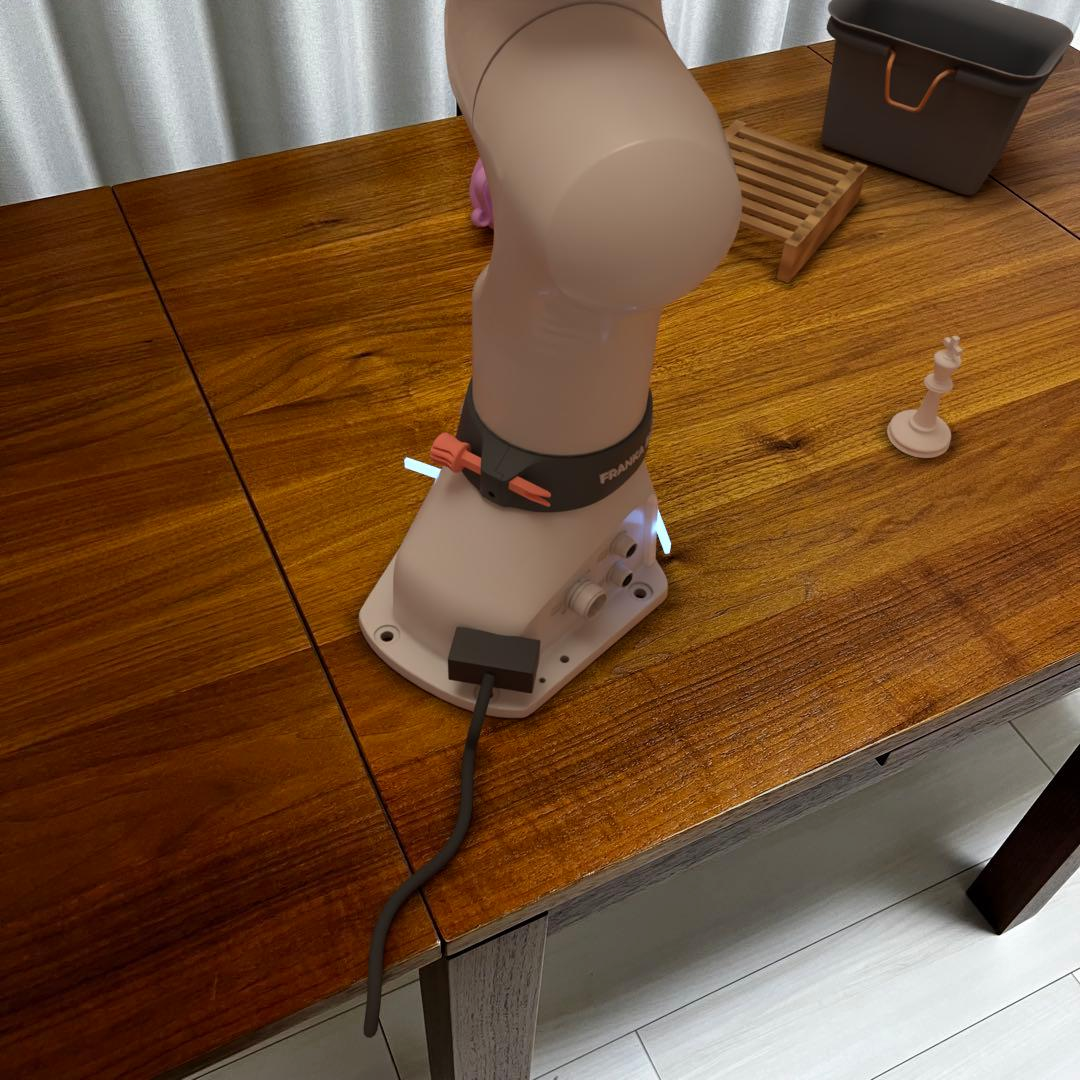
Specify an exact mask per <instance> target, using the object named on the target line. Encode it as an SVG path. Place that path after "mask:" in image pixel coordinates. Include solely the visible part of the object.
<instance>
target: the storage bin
mask: <svg viewBox="0 0 1080 1080" xmlns="http://www.w3.org/2000/svg"><path fill="white" fill-rule="evenodd" d="M827 10H828V13H829V15H830V16H829V18H828V20H827V23H826V31H827V33H828V35H829V36H830V37H831V38H833V39H834V40H835V41H834V42H835V43H834V49H833V55H832V62H831V63H832V64H831V70H830V77H829V82H828V83H829V84H828V90H827V97H826V102H825V110H824V116H823V122H822V130H821V136H820V141H821V143H822V144H823V145H824V146H826V147H827V148H830V149H833V150H836V151H838V152H841V153H844V154H847V155H850V156H853V157H855V158H858V159H862V160H864V161H867V162H871V163H874V164H876V165H879V166H881V167H884V168H888V169H890V170H893V171H896V172H899V173H902V174H905V175H908V176H911V177H913V178H916V179H917V180H921V181H924V182H926V183H930V184H932V185H935V186H937V187H941V188H943V189H946V190H949V191H951V192H954V193H957V194H960V195H964V196H971V195H975V194H976V193H977V192H978V191H979V190H980V188H981V187H982V185H983V184H984V182H985V181H986V179H987V178H988V176H989V175H990V173H991V172H992V171H993V170H994V168H995V167H996V166H997V164H998V163H999V161H1000V159H1001V157H1002V155H1003V153H1004V151H1005V150H1006V147H1007V145H1008V143H1009V141H1010V140H1011V137H1012V135H1013V133H1014V131H1015V129H1016V127H1017V125H1018V123H1019V120H1020V119H1021V117H1022V115H1023V113H1024V110H1025V109H1026V106H1027V104H1028V103H1029V101H1030V99H1031V97H1032V96H1033V95H1034V94H1036V93H1038V92H1039V91H1040V90H1041V89H1042V87H1043V86H1044V84H1045V83H1046V82H1047V80H1048V79H1049V78H1050V76H1051V75H1052V74H1053V72H1054V71H1055V70H1056V68H1057V67H1058V66H1059V65H1060V63H1061V62H1062V60H1063V58H1064V55H1065V52H1066V51H1067V49H1068V48H1069V47H1070V45H1071V44H1072V42H1073V40H1074V38H1075V37H1074V32H1073V31H1072V29H1070V27H1068V26H1067V25H1066V24H1064V23H1062V22H1060V21H1057V20H1055V19H1052V18H1049V17H1047V16H1043V15H1040V14H1037V13H1033V12H1031V11H1028V10H1024V9H1021V8H1019V7H1018V8H1017V7H1014V6H1011V5H1008V4H1004V3H1001V2H998V1H995V0H830V1H829V3H828V5H827Z"/></svg>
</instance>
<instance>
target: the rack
mask: <svg viewBox="0 0 1080 1080" xmlns="http://www.w3.org/2000/svg"><path fill="white" fill-rule="evenodd" d="M724 133H725V136H726V139H727V142H728V145H729V148H730V151H731V154H732V158H733V162H734V165H735V169H736V173H737V177H738V181H739V185H740V189H741V195H742V213H741V220H740V224H739V227H741V228H744V229H747V230H750V231H753V232H755V233H758V234H760V235H763V236H766V237H768V238H771V239H772V240H775V241H779V242H781V243H784V244H783V249H782V253H781V256H780V262H779V266H778V271H777V275H776V280H778V281H781V282H783V283H786V284H789V283H790V282H791V281H792V280H793V279H794V278H795V276H796V275H797V274H798V273H799V271H800V270H802V268H803V267H804V266H805V265H806V264H807V262H808V261H809V260H810V259H811V257H813V256H814V254H816V252H817V251H818V249H819V248H820V247H821V246H822V245H823V243H824V242H825V241H826V240H827V239H828V238H829V237H830V236H831V235H832V233H833V232H835V231H834V230H836V228H837V227H839V225H840V224H841V223H842V221H843V220H844V219H845V218H846V217H847V216H848V214H849V213H850V212H851V211H852V210H853V209H854V208H855V206H856V205H857V204H858V203H859V201H860V196H861V193H862V189H863V186H864V182H865V178H866V176H867V175H866V174H867V171H868V167H869V165H867V164H865V163H861V162H858V161H857V162H855V163H854V164H853V163H850V162H848V161H845V160H842V159H839V158H837V157H834V156H830V155H829V154H825V153H823V152H819V151H817V150H815V149H814V150H813V149H811V148H808V147H804V146H803V145H799V144H796V143H793V142H790V141H788V140H784V139H782V138H780V137H777V136H774V135H771V134H768V133H765V132H761V131H759V130H756V129H754V128H751V127H748V123H747V122H744V121H742V120H739V119H735V120H734V121H733V122H732V123H731V124H730V125H729V126H728V127H727V128H726V129H724ZM786 228H787V229H786Z"/></svg>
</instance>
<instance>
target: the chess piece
mask: <svg viewBox="0 0 1080 1080" xmlns="http://www.w3.org/2000/svg"><path fill="white" fill-rule="evenodd" d="M960 340H961V338H960V337H959V336H958V335H957V334H956V335H953V336H951V337H949V336H948V337H944V338H943V340H942V342H941V343H942V344H943V345H944V346H945V347H946V349H942V350H937V351H936V352H935V354H934V355H933V372H931V373H929V374H927V375H926V376H925V377H924V380H923V384H924V386H925V388H926V389H928V390H927V392H926V394H925V396H924V398H923V400H922V402H920V403H921V404H920V405H919V407H918V408H917V409H906V410H902V411H900V412H897V413H896V414H895V415H893V417H892V419H891V420H890V421H889V423H888V424H887V428H886V434H887V437H888V440H889V441H890V443H891V444H892V445H893V446H894V447H895V448H896V449H897V450H899V451H900V452H902V453H904V454H906V455H909V456H911V457H914V458H918V459H919V458H920V459H932V458H936V457H939V456H941V455H944V453H946V452H947V451H948V450H949V447H950V446H951V441H952V432H951V429H950V427H949V425H948V424H947V423H946V422H945V421H944V419H942V418H941V417H940V416H938V412H939V408H940V403H941V399H942V395H943V394H947V393H949V392H951V391H952V390H953V389H954V388H953V387H954V385H953V384H954V381H953V380H952V379H951V378H950V377H952V376H953V374H954V373H955V372H956V371H957V370H958V369H959V368H960V367H961V366H962V358H961V356H962V355H963V352H964V350H963V349H962V348H961V347H960V346H959V343H960Z"/></svg>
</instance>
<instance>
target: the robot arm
mask: <svg viewBox="0 0 1080 1080" xmlns="http://www.w3.org/2000/svg"><path fill="white" fill-rule="evenodd" d="M443 15H444V16H443V33H444V35H443V36H444V50H445V51H444V52H445V62H446V69H447V77H448V80H449V85H450V88H451V91H452V93H453V96H454V98H455V101H456V103H457V106H458V107H459V111H460V112H461V114H462V116H463V119H464V122H465V123H466V126H467V128H468V130H469V133H470V135H471V137H472V139H473V142H474V145H475V147H476V150H477V154H478V155H479V157H480V158H481V161H482V164H483V168H484V172H485V175H486V179H487V183H488V187H489V191H490V196H491V201H492V207H493V216H494V230H493V243H492V244H493V246H492V250H491V255H490V259H489V263H488V264H486V266H485V267H484V268H483V269H482V271H481V272H480V273H479V275H478V277H476V280H475V283H474V285H473V289H472V292H471V369H472V370H471V371H472V375H471V377H470V380H469V381H468V385H467V389H466V392H465V396H464V397H463V402H461V406H460V410H459V414H458V415H459V416H460V417H459V421H458V424H457V428H456V429H457V430H456V433H455V436H453V435H452V434H450V433H448V432H441V433H440V434H439V435H438V436H437V437H436V438H435V439H434V441H433V443H432V446H431V448H430V451H429V458H430V461H431V462H433V463H434V464H436V465H439V466H442V467H440V468H438V467H435V466H433V465H431V464H427V463H424V462H421V461H418V460H415V459H413V458H410V457H405V458H404V468H405V469H408V470H411V471H414V472H417V473H419V474H423V475H425V476H428V477H431V478H434V481H433V483H432V485H431V487H430V489H429V491H428V492H427V494H426V496H425V499H424V500H423V502H422V504H421V506H420V508H419V510H418V512H417V513H416V515H415V517H414V519H413V521H412V523H411V525H410V527H409V529H408V531H407V532H406V535H405V536H404V539H403V541H402V542H401V544H400V546H399V548H397V549H398V550H397V551H396V553H395V554H394V556H393V557H392V558H391V560H390V562H389V563H388V564H387V567H386V569H385V570H384V572H383V573H382V574H381V576H380V578H379V579H378V581H377V582H376V584H375V585H374V587H373V589H372V590H371V592H370V593H369V595H368V596H367V598H366V599H365V602H364V603H363V605H362V606H361V608H360V610H359V613H358V626H359V628H360V631H361V633H362V635H363V638H364V639H365V640H366V642H367V644H368V645H369V647H370V648H371V649H372V650H373V652H374V653H375V654H376V655H377V656H378V657H379V658H380V659H381V660H382V661H383V662H384V663H385V664H387V666H389V667H390V668H391V669H393V670H394V671H395V672H396V673H398V674H399V675H400V676H402V677H403V678H405V679H406V680H408V681H409V682H411V683H413V684H414V685H415V686H417V687H419V688H420V689H422V690H424V691H425V692H427V693H430V694H432V695H433V696H434V697H437V698H438V699H441V700H442V701H445V702H447V703H449V704H451V705H454V706H456V707H459V708H462V709H464V710H467V711H470V712H472V716H471V720H470V723H469V727H468V731H467V733H466V734H467V735H466V738H465V744H464V750H463V755H462V761H461V775H460V803H459V811H458V815H457V820H456V823H455V826H454V828H453V830H452V833H451V835H450V837H449V838H448V840H447V842H446V843H445V845H444V846H443V847H442V849H441V850H439V852H438V853H437V854H436V855H435V856H434V857H433V858H431V859H430V860H429V861H428V862H427V863H426V864H424V865H423V866H421V867H420V868H419V869H418V870H416V871H415V872H414V873H413V874H412V875H411V876H409V877H408V878H407V879H406V880H405V881H404V882H402V884H400V885H399V887H398V888H396V890H395V891H394V892H393V893H392V895H391V896H390V897H389V899H387V901H386V903H385V905H384V906H383V908H382V910H381V912H380V914H379V916H378V919H377V921H376V924H375V927H374V930H373V933H372V936H371V940H370V946H369V953H368V968H367V990H366V992H367V993H366V1005H365V1013H364V1019H363V1020H364V1022H363V1028H362V1029H363V1036H365V1038H366V1039H367V1038H368V1039H372V1038H373V1037H375V1036H376V1034H377V1032H378V1030H379V1022H380V1013H381V1004H382V989H383V960H384V949H385V944H386V939H387V933H388V932H389V928H390V925H391V923H392V920H393V918H394V916H395V915H396V914H397V911H398V910H399V908H400V907H401V905H402V904H403V903H404V902H405V901H406V900H407V898H408V897H409V896H411V894H412V893H414V892H415V891H416V890H417V889H418V888H419V887H421V886H422V885H423V884H424V883H426V882H427V881H428V880H429V879H430V878H432V877H434V875H435V874H436V873H438V872H439V871H440V870H441V869H442V868H443V867H444V866H446V865H447V863H448V862H449V861H450V860H451V859H452V858H453V856H455V854H456V853H457V851H458V850H459V848H460V846H461V844H462V843H463V841H464V839H465V836H466V833H467V831H468V828H469V825H470V823H471V818H472V813H473V806H474V805H473V804H474V775H475V774H474V773H475V762H476V756H477V750H478V744H479V741H480V737H481V734H482V730H483V727H484V726H483V725H484V722H485V717H486V716H487V717H488V716H489V717H495V718H501V719H502V718H503V719H505V718H506V719H523V718H526V717H529V716H530V715H531V714H533V713H534V712H535V711H537V710H538V709H539V708H540V707H542V706H543V705H544V704H546V702H548V701H549V700H550V699H551V698H552V697H554V695H556V694H557V693H558V692H559V691H560V690H562V689H563V688H564V687H565V686H566V685H568V684H569V683H570V682H571V681H572V680H573V679H575V678H576V677H577V676H578V675H580V673H581V672H583V671H584V670H585V669H586V668H587V667H589V666H590V665H591V664H592V663H593V662H595V661H596V660H597V659H598V658H599V657H600V656H601V655H603V654H604V653H605V652H606V651H607V650H609V649H610V648H611V647H612V646H613V645H614V644H616V643H617V642H618V641H619V640H620V639H621V638H623V637H624V636H625V635H626V634H627V633H629V632H630V630H632V629H633V628H634V627H635V626H637V625H638V624H639V623H640V622H642V620H644V619H645V618H646V617H648V615H649V614H651V613H652V612H653V611H654V610H655V609H656V608H658V607H659V606H660V605H661V604H662V603H664V601H665V600H667V597H668V594H669V584H668V582H669V581H668V578H667V576H666V574H665V572H664V570H663V569H662V566H661V565H660V564H659V562H658V560H657V558H656V556H657V555H656V553H657V541H658V540H657V539H658V538H659V541H660V544H661V546H662V549H663V552H664V554H666V555H667V554H670V551H671V545H672V543H671V540H670V537H669V535H668V531H667V529H666V526H665V523H664V521H663V518H662V516H661V513H660V511H659V499H658V495H657V493H656V490H655V487H654V484H653V482H652V479H651V476H650V473H649V469H648V466H647V462H646V456H647V453H648V449H649V445H650V441H651V436H652V433H653V427H654V399H653V398H654V397H653V392H652V390H651V387H650V385H651V379H652V371H653V366H654V359H655V352H656V345H657V341H658V340H657V339H658V333H659V328H660V327H659V326H660V323H661V318H662V314H663V311H664V309H665V307H666V306H668V305H670V304H672V303H675V302H676V301H678V300H680V299H682V298H683V297H685V296H687V295H688V294H690V293H691V292H692V291H694V290H695V289H696V288H698V287H700V286H701V285H702V284H703V283H704V282H705V281H706V280H707V279H708V278H709V277H710V276H711V275H712V274H713V273H714V272H715V270H717V268H718V267H719V266H720V265H721V263H722V262H723V260H724V259H725V258H726V256H727V255H728V253H729V251H730V249H731V247H732V246H733V243H734V241H735V239H736V236H737V235H738V231H739V227H740V226H739V224H740V220H741V213H743V211H742V197H743V195H741V189H740V185H739V181H740V180H739V179H738V177H737V173H736V169H735V165H736V164H735V165H734V162H733V158H732V154H731V151H730V148H729V145H728V142H727V139H726V136H725V133H724V131H725V129H724V127H723V124H722V121H721V119H720V117H719V114H718V111H717V109H716V108H715V106H714V105H713V103H712V102H711V100H710V98H709V97H708V96H707V94H706V92H704V90H703V89H702V87H701V86H700V84H699V83H698V82H697V80H696V79H695V77H694V75H693V74H692V73H691V71H690V70H689V68H688V67H687V65H686V64H685V63H684V61H683V60H682V58H681V56H680V55H679V54H678V52H677V51H676V49H674V46H673V44H672V42H671V41H670V39H669V36H668V31H667V28H666V23H665V19H664V13H663V6H662V0H445V4H444V14H443ZM738 180H739V181H738ZM657 535H658V536H657ZM637 596H641V598H640V597H637ZM385 639H391V640H388V641H385Z"/></svg>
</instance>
